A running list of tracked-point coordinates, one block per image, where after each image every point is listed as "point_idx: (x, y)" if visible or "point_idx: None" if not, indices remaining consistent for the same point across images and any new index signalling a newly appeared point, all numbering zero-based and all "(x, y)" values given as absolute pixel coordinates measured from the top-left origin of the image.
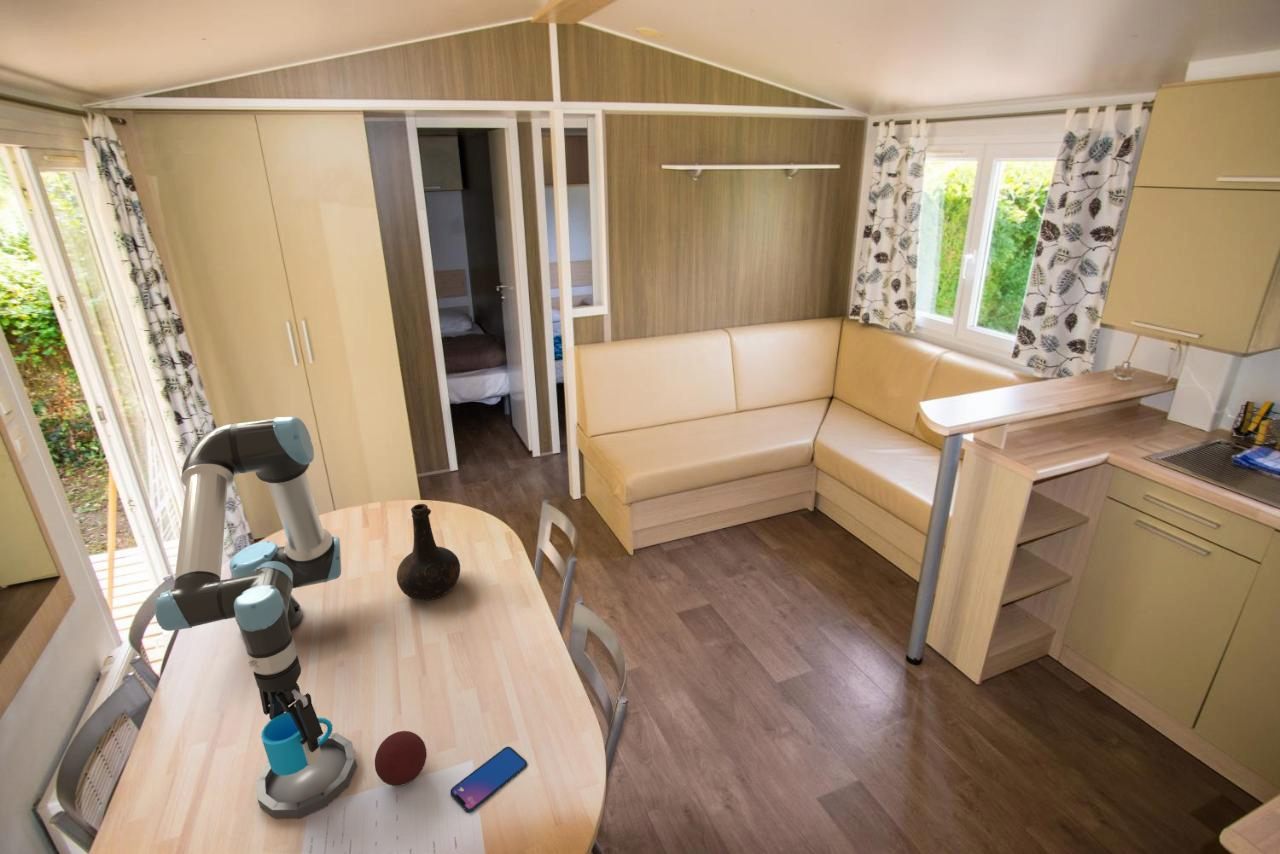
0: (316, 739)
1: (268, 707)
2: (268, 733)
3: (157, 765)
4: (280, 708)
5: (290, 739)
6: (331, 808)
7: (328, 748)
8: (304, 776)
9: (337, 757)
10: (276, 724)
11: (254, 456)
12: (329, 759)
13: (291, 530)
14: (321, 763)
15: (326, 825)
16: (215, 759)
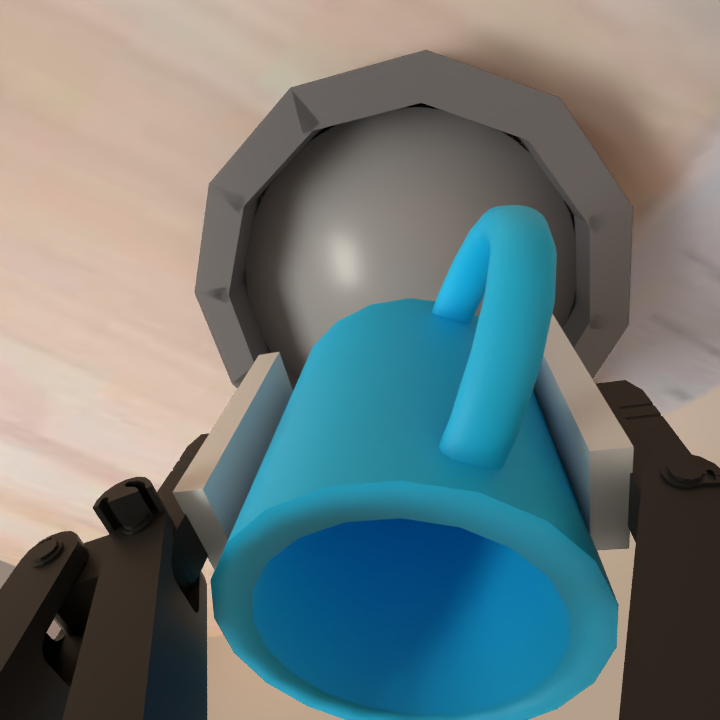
0: (676, 443)
1: (68, 626)
2: (324, 645)
3: (24, 535)
4: (175, 642)
5: (599, 665)
6: (633, 293)
7: (324, 159)
8: None
9: (416, 153)
10: (270, 588)
11: None
12: (395, 187)
13: None
14: (387, 225)
15: (682, 339)
16: (87, 449)
